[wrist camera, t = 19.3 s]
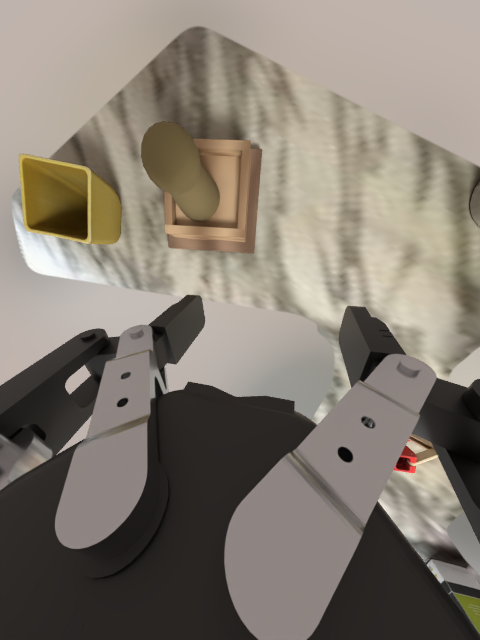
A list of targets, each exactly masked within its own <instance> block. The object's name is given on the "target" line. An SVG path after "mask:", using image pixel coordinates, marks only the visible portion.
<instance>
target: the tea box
mask: <svg viewBox="0 0 480 640" xmlns="http://www.w3.org/2000/svg"><path fill="white" fill-rule="evenodd" d="M427 566H428V568H429V569H430V570H431V571H432V573H433V574H434V575H435V577H436V578H437V579H438V581H439V582H440V583H441V584H442V586H443V587H444V588H445V590H446V591H447V592H448V594H449V595H450V596H451V598H452V599H453V600H454V601H455V603H456V604H457V605H458V607H459V608H460V609H461V611H462V612H463V613H464V615H465V616H466V617H467V618H468V620H469V621H470V622H471V624H472V625H473V626H474V628H475V629H476V630H477V631H478V633H479V634H480V585H479V583H478V582H477V581H476V579H475V578H474V577H473V576H472V574H471V573H470V572H469V570H468V569H466V568H463V567H460V566H457V565H453V564H449V563H446V562H442V561H438V560H434V559H431V560H430V561H429V563H428V564H427Z"/></svg>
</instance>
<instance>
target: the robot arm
mask: <svg viewBox="0 0 480 640" xmlns="http://www.w3.org/2000/svg"><path fill="white" fill-rule="evenodd" d="M470 210H471V215H472V217H473V219H474V221H475V222H476V223H477V224H478V226H480V181H479V183H478V184H477V186H476V187H475V190H474V192H473V194H472V198H471V203H470ZM204 324H205V316H204V310H203V304H202V299H201V297H200V296H198V295H186V296H185V297H184V298H183V299H182V300H181V301H179V302H178V303H176V304H174V305H172V306H171V307H169V308H168V309H167V310H166V311H165V312H163V313H162V315H160V316H159V317H157V318H156V319H155V320H154V321H153V322H151V323H150V324H149V325H139V326H135V327H132V328H129V329H127V330H126V331H124V332H123V333H122V334H121V336H120V337H110V338H109V337H108V335H107V333H106V331H105V330H104V329H92V330H88V331H85V332H83V333H80V334H79V335H77V336H75V337H74V338H72V339H71V340H69V341H68V342H66V343H65V344H63V345H62V346H60V347H59V348H57V349H56V350H54V351H53V352H51V353H49V354H48V355H46V356H45V357H43V358H42V359H40V360H39V361H37V362H36V363H34V364H33V365H31V366H30V367H28V368H27V369H25V370H24V371H22V372H21V373H19V374H18V375H16V376H15V377H13V378H12V379H10V380H8V381H7V382H5V383H4V384H2V385H1V386H0V640H480V634H479V633H478V631H477V630H476V629H475V628H474V626H473V625H472V624H471V622H470V621H469V620H468V618H467V617H466V616H465V615H464V613H463V612H462V611H461V609H460V608H459V607H458V605H457V604H456V603H455V601H454V600H453V599H452V598H451V596H450V595H449V594H448V592H447V591H446V590H445V588H444V587H443V586H442V584H441V583H440V582H439V581H438V579H437V578H436V577H435V575H434V574H433V573H432V571H431V570H430V569H429V568H428V566H427V565H426V564H425V562H424V561H423V560H422V558H421V557H420V556H419V554H418V553H417V552H416V551H415V549H414V548H413V547H412V545H411V544H410V543H409V541H408V540H407V539H406V537H405V536H404V535H403V534H402V532H401V531H400V530H399V528H398V527H397V526H396V524H395V523H394V522H393V521H392V519H391V518H390V517H389V515H388V514H387V513H386V511H385V510H384V509H383V507H382V506H381V505H380V504H379V502H378V499H379V497H380V495H381V493H382V491H383V489H384V487H385V485H386V483H387V481H388V479H389V477H390V475H391V473H392V471H393V469H394V467H395V465H396V463H397V461H398V459H399V457H400V455H401V453H402V451H403V449H404V447H405V445H406V443H407V441H408V439H409V437H410V436H411V434H414V435H416V436H418V437H421V438H423V439H425V440H427V441H430V442H431V443H432V445H433V447H434V449H435V451H436V453H437V455H438V458H439V460H440V462H441V464H442V466H443V468H444V470H445V472H446V474H447V476H448V478H449V480H450V483H451V485H452V487H453V489H454V491H455V493H456V495H457V497H458V499H459V501H460V503H461V506H462V508H463V510H464V512H465V514H466V516H467V518H468V520H469V522H470V524H471V526H472V529H473V531H474V533H475V535H476V536H477V539H478V541H479V543H480V379H477V380H475V381H474V382H473V383H472V384H471V385H470V386H469V387H468V388H467V387H464V386H460V385H457V384H454V383H451V382H448V381H444V380H441V379H438V378H437V377H436V374H435V372H434V371H433V370H432V369H431V368H430V367H429V366H428V365H427V364H425V363H424V362H422V361H420V360H418V359H416V358H413V357H410V356H407V355H406V353H405V352H404V351H403V349H402V348H401V346H400V345H399V343H398V342H397V340H396V339H395V338H394V336H393V335H392V333H391V332H390V330H389V329H388V327H387V326H386V324H385V323H383V322H382V321H380V320H379V319H377V318H374V317H371V316H370V314H369V312H368V311H367V309H366V308H365V307H357V306H347V308H346V310H345V313H344V317H343V321H342V324H341V328H340V332H339V345H340V348H341V352H342V355H343V359H344V363H345V366H346V370H347V373H348V377H349V380H350V384H351V389H350V390H349V391H348V393H347V394H346V395H345V396H344V397H343V398H342V399H341V400H340V401H339V402H338V403H337V405H336V406H335V407H334V408H333V409H332V410H331V411H330V412H329V413H328V414H327V415H326V417H325V418H324V419H323V420H322V421H321V422H320V423H319V424H318V425H316V424H315V423H314V422H313V421H311V420H310V419H308V418H307V417H306V416H304V415H302V414H300V413H298V412H296V411H294V401H290V400H285V399H280V398H274V397H269V396H252V397H235V396H232V395H230V394H228V393H226V392H224V391H221V390H219V389H217V388H215V387H213V386H209V385H204V384H198V383H192V382H188V383H187V385H186V386H185V388H184V390H177V391H172V392H169V389H168V381H167V373H166V368H165V365H166V364H167V363H171V364H177V363H178V361H179V360H180V359H181V357H182V356H183V355H184V353H185V352H186V351H187V349H188V348H189V346H190V345H191V344H192V342H193V341H194V340H195V338H196V337H197V336H198V334H199V333H200V331H201V330H202V329H203V327H204ZM83 365H85V366H86V368H87V369H88V371H89V372H90V374H91V376H90V377H89V378H88V379H87V380H85V382H83V383H82V384H81V385H80V386H79V387H78V388H77V389H76V390H75V391H74V392H72V393H71V394H70V395H69V393H68V392H67V391H66V389H65V383H66V381H67V379H68V378H69V377H70V376H71V375H72V374H74V373H75V372H76V371H77V370H78V369H80V368H81V367H82V366H83ZM91 415H92V418H91V422H90V426H89V430H88V434H87V436H86V438H85V439H84V440H82V441H80V442H78V443H77V444H75V445H73V446H72V447H70V448H68V449H66V450H65V451H63V452H61V453H59V454H58V455H56V454H57V453H58V452H59V451H60V450H61V449H62V448H63V447H64V445H65V444H66V443H67V442H68V441H69V440H70V439H71V438H72V436H73V435H74V434H75V433H76V432H77V431H78V430H79V429H80V427H81V426H82V425H83V424H84V423H85V422H86V421H87V420H88V419H89V417H90V416H91Z"/></svg>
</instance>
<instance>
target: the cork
mask: <svg viewBox="0 0 480 640" xmlns="http://www.w3.org/2000/svg"><path fill="white" fill-rule="evenodd" d="M141 158H142V162H143V166H144V168H145V170H146V172H147V174H148V176H149V178H150V179H151V180H152V181H153V182H154V183H155V184H156V185H157V186H158V187H159V188H160V189H162V190H164V191H166V192H168V193H170V194H171V196H172V197H173V199H174V200H175V202H176V203H177V205H178V206H179V208H180V210H181V211H182V212H183V213H184V214H185V215H186V217H188V218H190V219H191V220H194V221H204V220H207V219H209V218H211V217H212V216H213V215H214V214H215V212H216V211H217V209H218V206H219V202H220V193H219V189H218V187H217V185H216V182H215V181H214V180H213V179H212V177H211V176H210V175H209V174H208V172H207V171H206V170H205V169H204V167H203V166H202V165H201V164H200V157H199V151H198V149H197V147H196V145H195V142H194V140H193V138H192V137H191V136H190V135H189V134H188V133H187V132H186V130H185V129H184V128H183V127H181V126H179V125H177V124H176V123H172V122H165V121H163V122H159V123H156V124H154V125H153V126H151V127H150V128H149V129H148V130H147V132H146V133H145V135H144V138H143V141H142V145H141Z"/></svg>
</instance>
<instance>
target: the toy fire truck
mask: <svg viewBox="0 0 480 640" xmlns="http://www.w3.org/2000/svg"><path fill="white" fill-rule="evenodd" d="M408 441H412V442H414V443H416V444H417V445H419V446H421V447H423V448H425V449H427V450H426V451H423V452H420V453H417V454H415V453H414V452H413V451H412V450H410V449H409V448H408V447H407V446H406V445H405V447H404V449H403V451H402V453H401V455H400V457H399V459H398V461H397V463H396V465H395V467H394V469H393V470H395V471H402V472H409V473H415V469H416V465H418V464H421V463H424V462H426V461H429V460H432V459H434V458H437V457H438V455H437V453H436V451H435V449H434V447H433V445H432V443H431V442H430V441H427V440H425V439H423V438H421V437H418V436H416V435H414V434H411V436H410V437H409V439H408Z"/></svg>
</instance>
